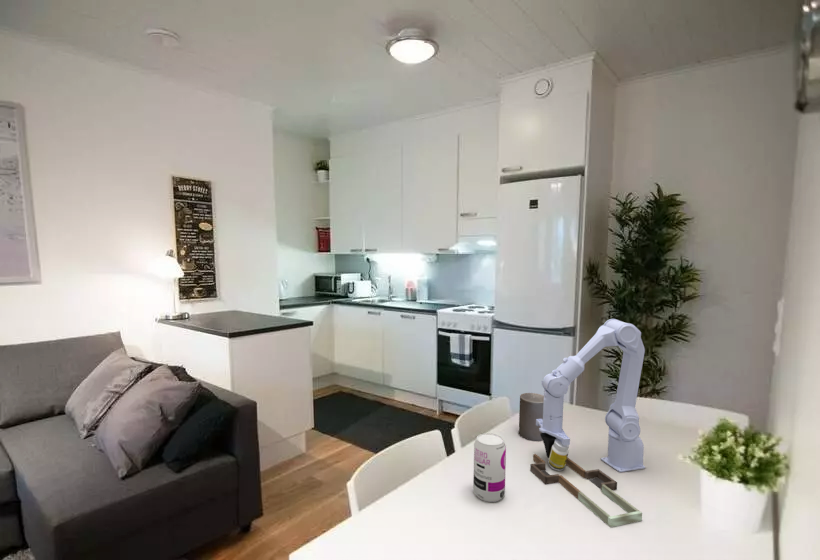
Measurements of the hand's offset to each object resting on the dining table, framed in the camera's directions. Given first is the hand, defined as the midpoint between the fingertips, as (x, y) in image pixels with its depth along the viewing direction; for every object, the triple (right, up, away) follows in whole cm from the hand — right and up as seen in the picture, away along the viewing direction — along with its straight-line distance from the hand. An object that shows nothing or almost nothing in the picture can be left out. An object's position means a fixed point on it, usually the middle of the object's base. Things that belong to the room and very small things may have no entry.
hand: (550, 457), depth 124 cm
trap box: (+4, -3, -12) cm, 13 cm away
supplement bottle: (+1, -2, -2) cm, 3 cm away
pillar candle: (+1, -1, +20) cm, 20 cm away
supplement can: (-22, -3, -16) cm, 28 cm away
